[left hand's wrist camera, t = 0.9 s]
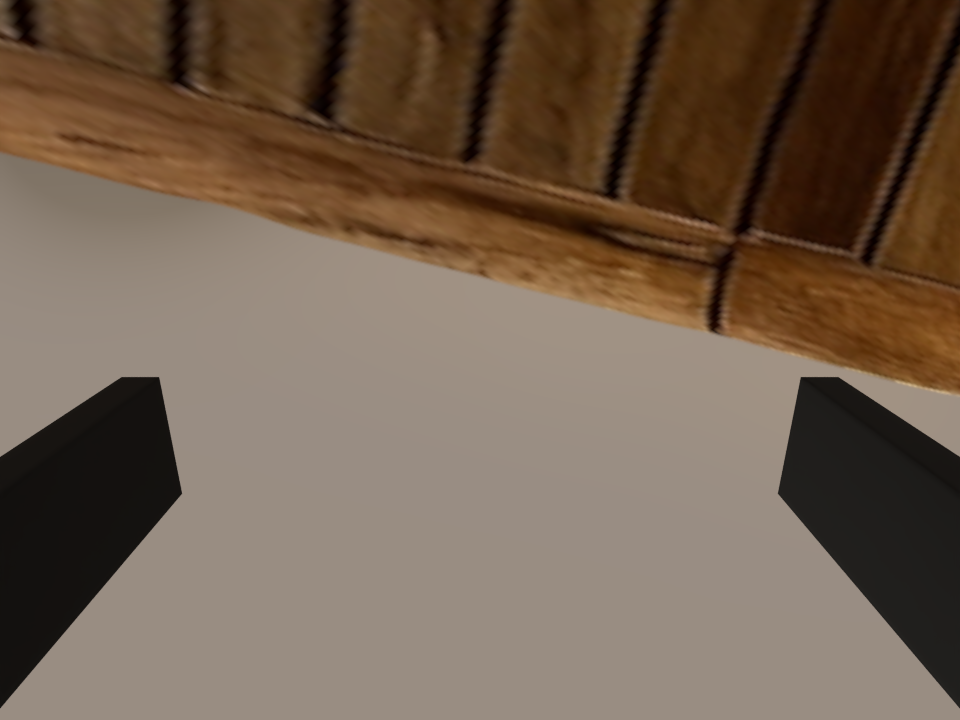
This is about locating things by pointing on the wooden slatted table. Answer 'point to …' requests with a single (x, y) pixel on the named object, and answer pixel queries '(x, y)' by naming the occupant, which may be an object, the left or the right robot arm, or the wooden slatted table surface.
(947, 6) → the wooden slatted table surface
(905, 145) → the wooden slatted table surface
